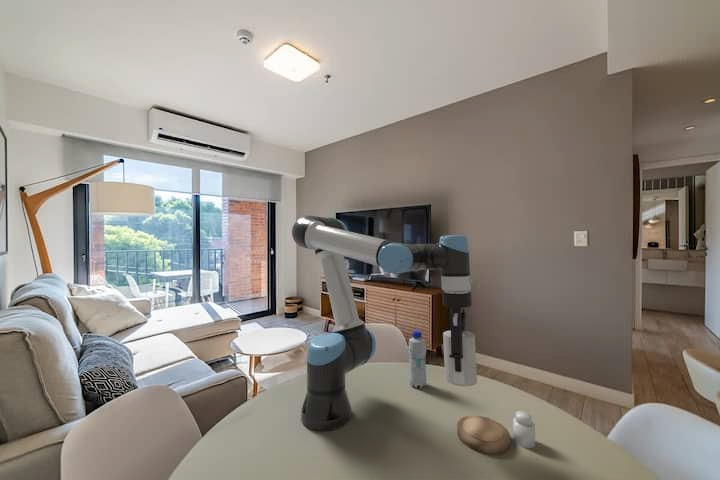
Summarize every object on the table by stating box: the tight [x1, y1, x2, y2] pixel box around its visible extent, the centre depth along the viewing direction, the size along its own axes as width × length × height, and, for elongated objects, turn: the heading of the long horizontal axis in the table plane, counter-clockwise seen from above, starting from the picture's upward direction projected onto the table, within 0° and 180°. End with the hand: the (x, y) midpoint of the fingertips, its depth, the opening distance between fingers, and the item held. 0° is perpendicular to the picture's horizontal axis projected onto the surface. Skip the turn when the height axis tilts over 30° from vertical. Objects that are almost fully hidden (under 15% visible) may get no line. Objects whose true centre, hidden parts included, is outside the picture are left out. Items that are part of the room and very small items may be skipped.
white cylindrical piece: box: [442, 329, 478, 387], centre depth 77 cm, size 8×8×12 cm
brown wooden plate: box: [456, 415, 511, 455], centre depth 77 cm, size 13×13×2 cm
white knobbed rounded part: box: [512, 410, 536, 450], centre depth 75 cm, size 5×5×7 cm
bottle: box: [407, 330, 427, 389], centre depth 107 cm, size 7×7×20 cm
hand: (460, 376), depth 77 cm, fingers closed on white cylindrical piece, 8 cm apart
